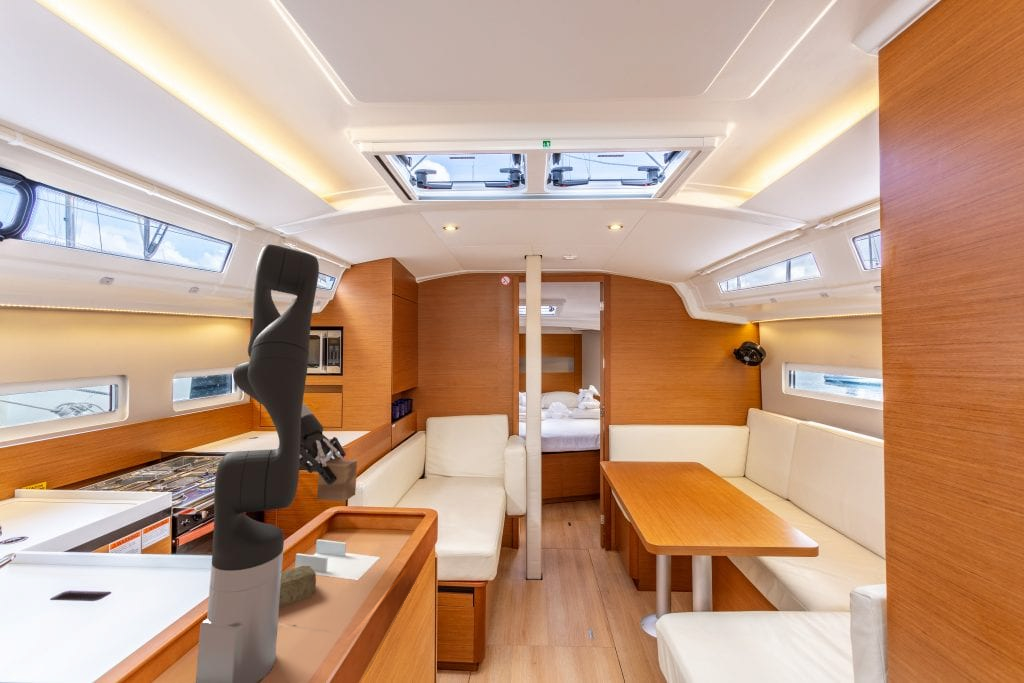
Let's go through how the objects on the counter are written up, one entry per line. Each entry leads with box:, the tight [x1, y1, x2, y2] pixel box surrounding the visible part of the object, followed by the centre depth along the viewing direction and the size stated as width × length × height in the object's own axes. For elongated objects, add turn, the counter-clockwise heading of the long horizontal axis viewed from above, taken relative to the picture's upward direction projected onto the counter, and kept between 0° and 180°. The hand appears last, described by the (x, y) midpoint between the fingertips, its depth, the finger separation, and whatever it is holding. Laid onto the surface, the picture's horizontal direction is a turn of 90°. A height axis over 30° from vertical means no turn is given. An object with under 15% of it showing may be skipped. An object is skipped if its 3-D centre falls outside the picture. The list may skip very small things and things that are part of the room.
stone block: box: [279, 566, 317, 608], centre depth 76 cm, size 6×12×5 cm, turn 134°
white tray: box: [294, 539, 381, 581], centre depth 89 cm, size 10×20×4 cm, turn 81°
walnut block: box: [316, 458, 358, 503], centre depth 90 cm, size 5×6×8 cm
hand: (340, 478), depth 90 cm, fingers closed on walnut block, 5 cm apart
